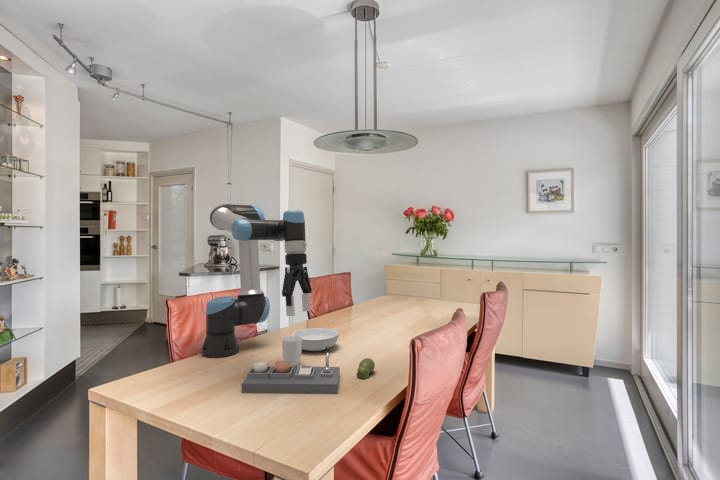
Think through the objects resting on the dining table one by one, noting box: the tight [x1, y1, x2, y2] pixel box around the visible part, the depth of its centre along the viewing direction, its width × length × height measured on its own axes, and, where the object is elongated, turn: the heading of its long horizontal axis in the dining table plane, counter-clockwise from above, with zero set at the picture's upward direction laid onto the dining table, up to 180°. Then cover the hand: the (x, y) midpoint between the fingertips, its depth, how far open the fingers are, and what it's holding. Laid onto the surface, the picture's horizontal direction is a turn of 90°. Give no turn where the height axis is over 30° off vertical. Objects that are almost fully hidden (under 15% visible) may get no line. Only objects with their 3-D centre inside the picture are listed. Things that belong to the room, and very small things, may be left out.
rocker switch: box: [298, 365, 313, 375], centre depth 133 cm, size 5×4×1 cm
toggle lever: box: [323, 346, 332, 372], centre depth 134 cm, size 2×2×8 cm
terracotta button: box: [274, 360, 290, 373], centre depth 133 cm, size 5×5×3 cm
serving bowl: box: [291, 327, 339, 352], centre depth 173 cm, size 21×21×7 cm
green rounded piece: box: [356, 357, 376, 380], centre depth 142 cm, size 6×5×10 cm
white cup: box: [281, 335, 303, 367], centre depth 153 cm, size 8×8×10 cm
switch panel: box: [241, 365, 341, 394], centre depth 133 cm, size 16×31×5 cm, turn 90°
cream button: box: [252, 359, 269, 373], centre depth 132 cm, size 5×5×3 cm
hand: (298, 313), depth 136 cm, fingers open, 13 cm apart
